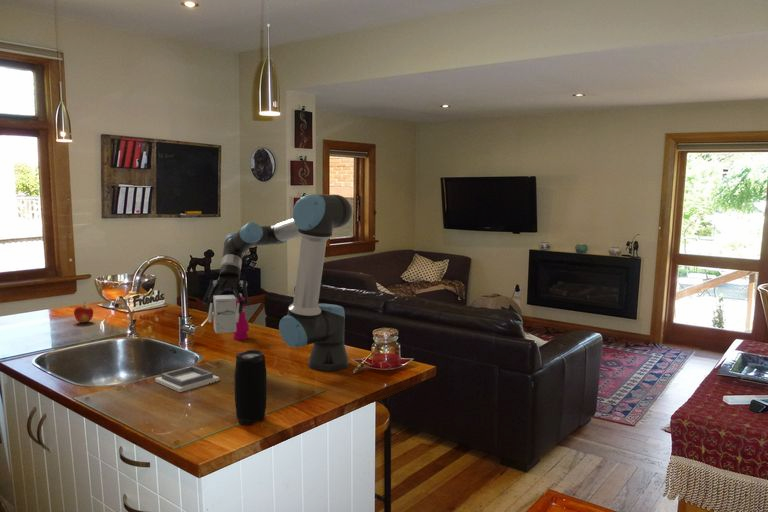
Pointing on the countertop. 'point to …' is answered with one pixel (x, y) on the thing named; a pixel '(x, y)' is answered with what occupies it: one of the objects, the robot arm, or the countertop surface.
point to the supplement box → (224, 313)
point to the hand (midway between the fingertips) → (223, 320)
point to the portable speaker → (250, 386)
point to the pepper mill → (241, 324)
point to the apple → (83, 313)
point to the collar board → (186, 378)
